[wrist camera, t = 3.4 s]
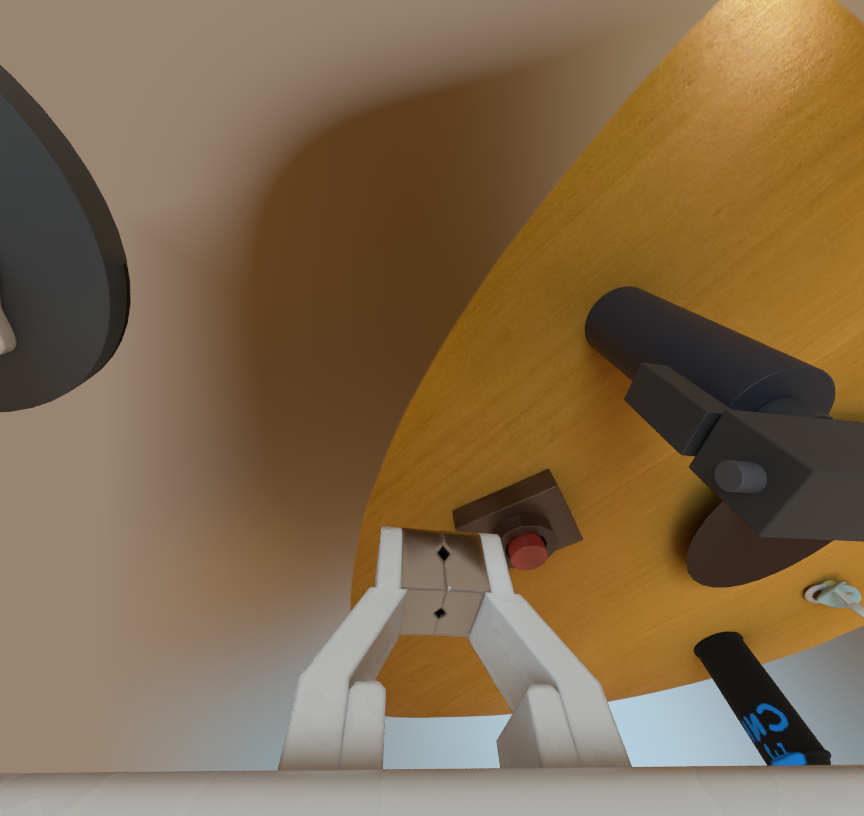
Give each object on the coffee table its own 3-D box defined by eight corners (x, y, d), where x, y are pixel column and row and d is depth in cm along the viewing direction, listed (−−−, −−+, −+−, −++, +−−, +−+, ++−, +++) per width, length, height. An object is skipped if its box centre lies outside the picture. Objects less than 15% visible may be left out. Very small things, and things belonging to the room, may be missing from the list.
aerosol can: (751, 634, 65) (877, 796, 48) (717, 658, 69) (823, 816, 52) (717, 628, 63) (836, 794, 46) (683, 653, 67) (782, 816, 50)
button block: (486, 557, 49) (493, 589, 45) (452, 510, 44) (457, 542, 40) (574, 521, 46) (590, 552, 42) (548, 468, 41) (563, 498, 38)
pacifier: (815, 602, 61) (853, 583, 59) (853, 643, 56) (897, 624, 54) (792, 590, 59) (831, 570, 56) (830, 632, 54) (875, 611, 51)
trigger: (623, 399, 22) (680, 455, 17) (640, 361, 20) (708, 411, 16) (648, 402, 22) (711, 458, 17) (667, 364, 21) (740, 414, 16)
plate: (768, 588, 58) (789, 612, 55) (625, 553, 50) (640, 577, 47) (953, 452, 45) (994, 472, 42) (798, 378, 38) (835, 396, 35)
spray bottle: (533, 344, 34) (714, 561, 14) (554, 275, 31) (819, 433, 11) (635, 356, 35) (923, 568, 16) (664, 291, 32) (1064, 456, 13)
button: (514, 561, 43) (519, 574, 41) (501, 541, 41) (505, 555, 39) (547, 548, 42) (553, 561, 41) (535, 527, 40) (541, 540, 39)
